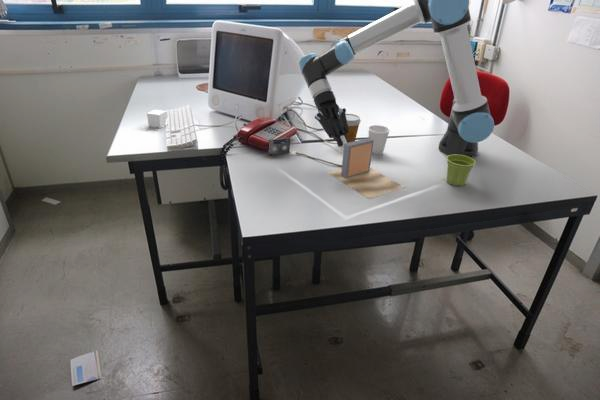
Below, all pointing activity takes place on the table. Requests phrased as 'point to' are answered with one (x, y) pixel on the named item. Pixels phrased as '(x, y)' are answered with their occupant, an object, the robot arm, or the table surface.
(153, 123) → the adhesive note
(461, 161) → the plant pot
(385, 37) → the robot arm
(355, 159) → the tile
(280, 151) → the mini dv tape
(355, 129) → the disposable coffee cup
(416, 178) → the table surface
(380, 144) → the dixie cup
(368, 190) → the board
